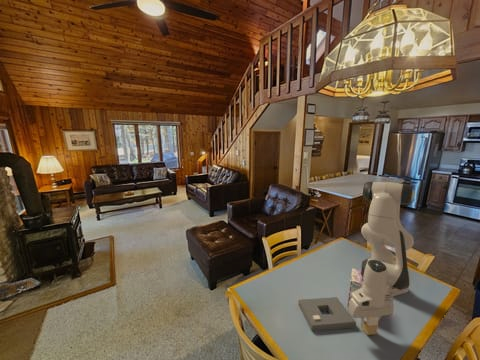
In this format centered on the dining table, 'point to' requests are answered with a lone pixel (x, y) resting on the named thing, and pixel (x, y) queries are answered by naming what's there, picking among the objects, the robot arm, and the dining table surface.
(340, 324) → the socket
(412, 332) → the dining table surface
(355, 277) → the candy box
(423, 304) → the dining table surface
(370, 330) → the cream and tan block
